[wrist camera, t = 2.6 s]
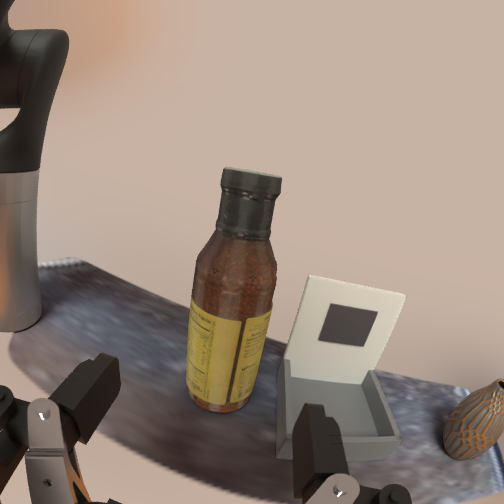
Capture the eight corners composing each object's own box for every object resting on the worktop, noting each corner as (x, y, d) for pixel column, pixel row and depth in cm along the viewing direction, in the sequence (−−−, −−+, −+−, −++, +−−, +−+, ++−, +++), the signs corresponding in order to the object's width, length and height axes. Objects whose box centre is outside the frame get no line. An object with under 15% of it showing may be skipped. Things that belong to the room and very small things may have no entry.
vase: (479, 436, 18) (522, 377, 16) (476, 476, 13) (532, 413, 11) (437, 420, 22) (477, 359, 20) (428, 459, 17) (481, 393, 14)
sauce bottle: (241, 372, 28) (286, 177, 23) (257, 415, 22) (323, 186, 17) (179, 370, 26) (207, 162, 21) (184, 417, 20) (220, 163, 15)
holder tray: (276, 458, 18) (330, 342, 14) (276, 375, 29) (308, 274, 25) (385, 459, 18) (460, 355, 14) (361, 385, 28) (403, 293, 25)
